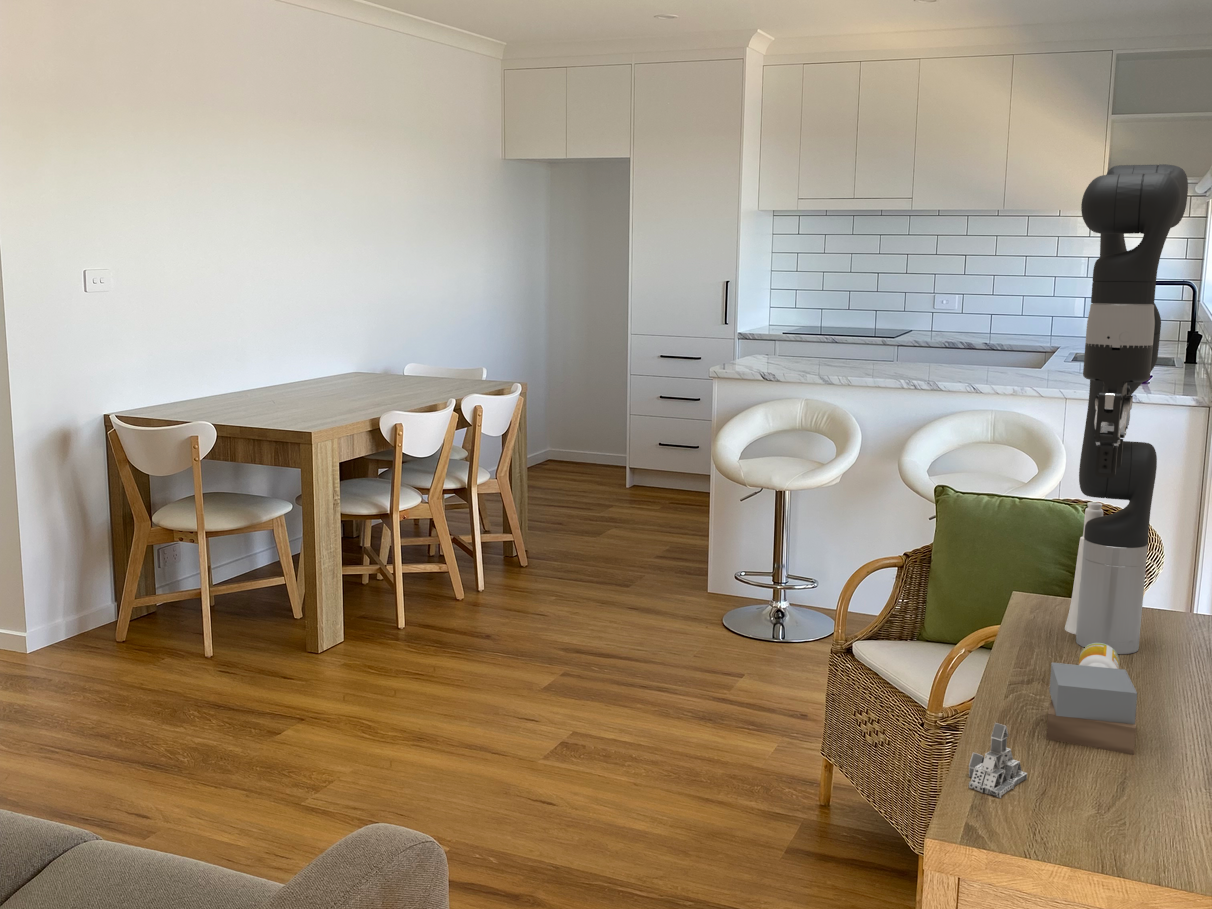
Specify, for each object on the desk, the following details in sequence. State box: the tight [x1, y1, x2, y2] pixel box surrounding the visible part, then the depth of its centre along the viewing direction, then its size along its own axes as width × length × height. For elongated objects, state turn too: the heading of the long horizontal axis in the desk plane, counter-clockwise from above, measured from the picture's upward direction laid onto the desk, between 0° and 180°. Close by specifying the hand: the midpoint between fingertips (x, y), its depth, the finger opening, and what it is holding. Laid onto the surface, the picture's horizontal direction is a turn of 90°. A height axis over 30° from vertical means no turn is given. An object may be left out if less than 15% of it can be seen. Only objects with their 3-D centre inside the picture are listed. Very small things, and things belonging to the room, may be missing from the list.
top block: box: [1049, 662, 1138, 724], centre depth 140 cm, size 9×9×4 cm
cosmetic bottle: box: [1064, 501, 1104, 636], centre depth 182 cm, size 6×6×22 cm
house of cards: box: [968, 722, 1028, 799], centre depth 127 cm, size 9×9×8 cm
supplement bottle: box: [1077, 643, 1120, 669], centre depth 157 cm, size 5×5×10 cm
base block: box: [1045, 699, 1137, 755], centre depth 141 cm, size 10×10×4 cm
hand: (1108, 472), depth 137 cm, fingers open, 8 cm apart
